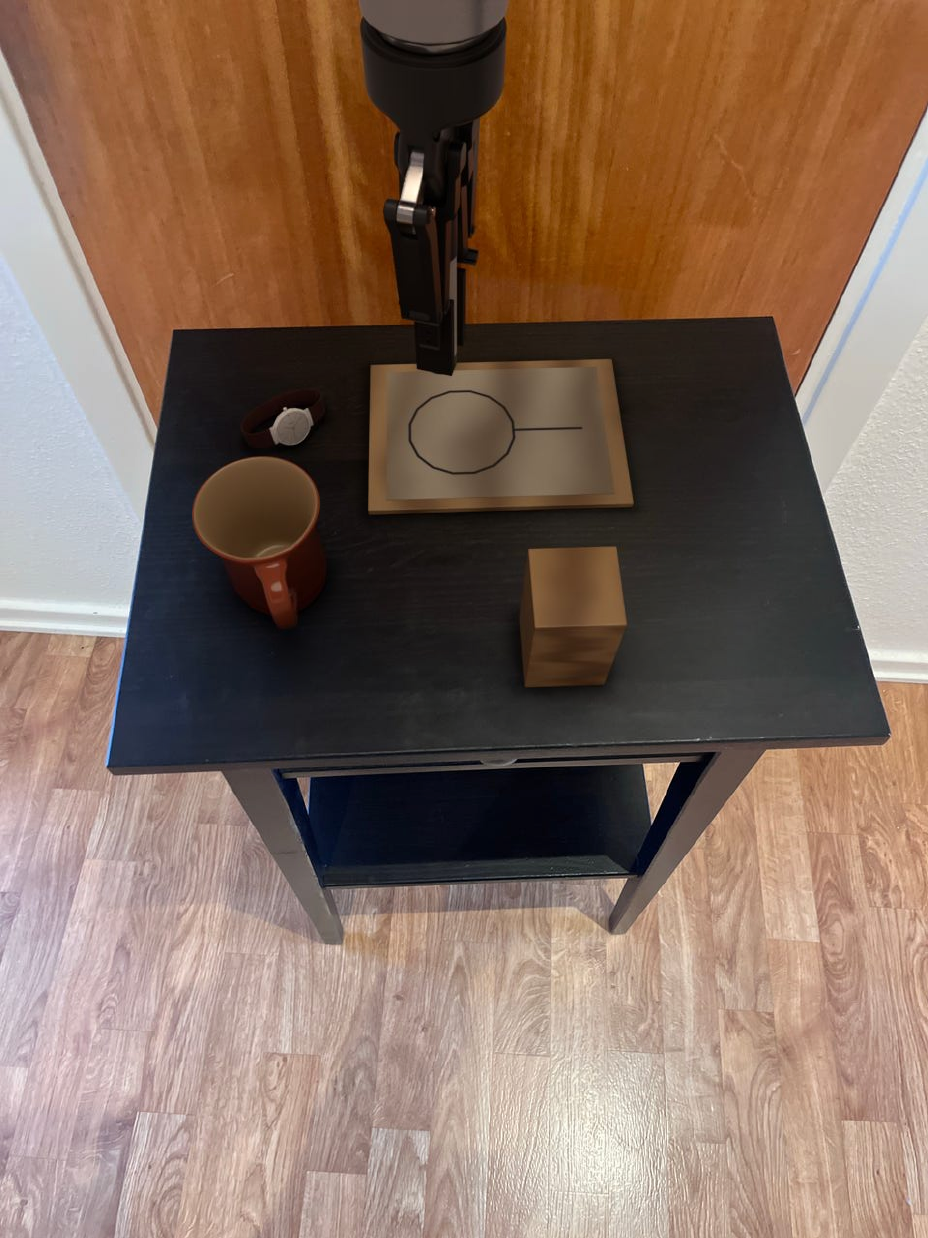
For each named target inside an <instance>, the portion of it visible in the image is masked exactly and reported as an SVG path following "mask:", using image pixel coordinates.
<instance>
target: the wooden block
mask: <svg viewBox="0 0 928 1238" xmlns="http://www.w3.org/2000/svg"><path fill="white" fill-rule="evenodd" d="M617 548H618V547H617V546H588V547H587V546H586V547H583V546H582V547H552V548H528V550H527V556H526V564H525V572H524V578H523V579H524V580H523V587H522V594H521V600H520V610H519V618H518V619H519V628H520V629H519V631H520V632H519V633H520V644H521V659H522V672H523V673H522V674H523V685H524V688H546V687H547V688H548V687H575V686H577V687H578V686H604V685H605V683H606V681H607V679H608V677H609V673H610V670H611V668H612V666H613V662H614V660H615V657H616V655H617V653H618V650H619V647H620V644H621V641H622V639H623V637H624V634H625V630H626V628H627V625H628V620H627V614H626V607H625V600H624V593H623V585H622V577H621V569H620V565H619V557H618V549H617Z"/></svg>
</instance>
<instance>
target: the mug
mask: <svg viewBox="0 0 928 1238" xmlns="http://www.w3.org/2000/svg"><path fill="white" fill-rule="evenodd" d="M320 506H321V501H320V493H319V490H318V488H317V486H316V483H315V482H314V480H313V478H312V477H311V476H310V475H309V473H307V472H306V471H305V470H304V469H303V468H302V467H300V466H299V465H297V464H296V463H293V462H292V461H289V460H286V459H283V458H279V457H274V456H266V455H264V456H250V457H245V458H241V459H237V460H235V461H232V462H230V463H228V464H226V465H223V466H222V467H221V468H219V469H217V470H216V471H215V472H214V473H212V474H211V475H210V476H209V477H208V478H207V479H206V480H205V481H204V482H203V484H202V485H201V487H200V488H199V490H198V491H197V494H196V495H195V498H194V501H193V505H192V510H191V511H192V514H191V516H192V525H193V528H194V530H195V533H196V535H197V537H198V538H199V540H200V542H201V543H202V544H203V545H204V546H205V547H206V548H207V549H208V550H210V551H211V552H212V553H213V554H214V555H216V556H218V557H219V558H220V559H221V562H222V564H223V567H224V570H225V572H226V574H227V577H228V579H229V582H230V585H231V586H232V588H233V590H234V592H236V594H237V595H238V596H239V597H240V598H241V599H242V600H243V601H244V602H245V603H246V604H247V605H248V606H249V607H250V608H252V610H255V611H257V612H259V613H261V614H263V615H268V616H271V618H272V620H273V622H274V624H275V625H276V627H277V628H279V630H280V629H281V630H287V629H291V628H295V627H296V626H297V625H298V623H299V613H298V612H301V611H302V610H304V609H306V608H308V607H309V606H311V604H312V603H313V602H314V601H315V600H316V599H317V597H318V596H319V595H320V593H321V592H322V590H323V588H324V585H325V581H326V575H327V555H326V551H325V548H324V546H323V543H322V540H321V537H320V533H319V531H318V528H317V523H318V519H319V516H320V511H321V510H320V509H321V508H320Z"/></svg>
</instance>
